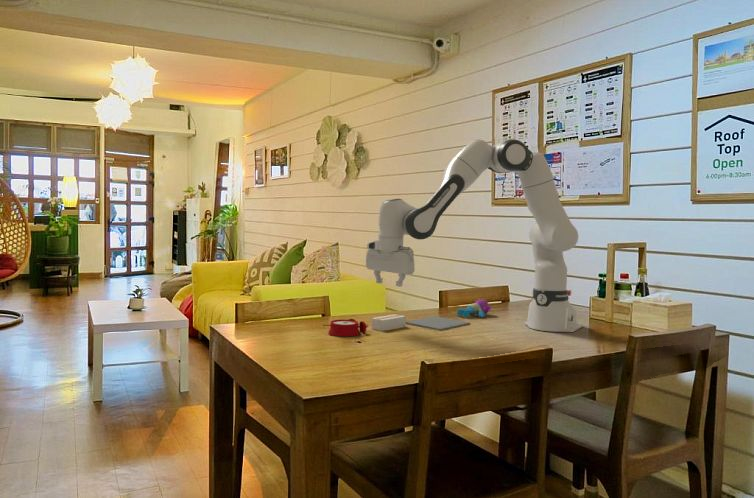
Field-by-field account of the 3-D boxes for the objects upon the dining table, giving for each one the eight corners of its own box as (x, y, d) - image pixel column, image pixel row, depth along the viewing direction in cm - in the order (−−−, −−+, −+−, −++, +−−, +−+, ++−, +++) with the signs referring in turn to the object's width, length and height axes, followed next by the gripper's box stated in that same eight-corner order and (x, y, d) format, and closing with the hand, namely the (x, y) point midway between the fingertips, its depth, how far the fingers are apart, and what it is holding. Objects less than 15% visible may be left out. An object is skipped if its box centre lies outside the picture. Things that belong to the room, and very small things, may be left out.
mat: (435, 317, 230) (435, 316, 230) (469, 324, 219) (470, 322, 219) (405, 323, 217) (405, 322, 217) (440, 330, 206) (440, 328, 206)
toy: (474, 325, 228) (500, 314, 237) (472, 309, 227) (498, 298, 236) (452, 320, 238) (477, 310, 246) (450, 304, 236) (476, 295, 245)
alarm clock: (319, 322, 197) (354, 308, 206) (322, 340, 198) (356, 325, 208) (338, 328, 189) (373, 313, 198) (341, 346, 190) (376, 330, 200)
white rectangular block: (394, 325, 215) (395, 313, 215) (405, 327, 211) (405, 315, 211) (371, 329, 206) (371, 317, 206) (381, 331, 203) (382, 319, 203)
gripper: (419, 247, 202) (417, 287, 203) (375, 243, 216) (374, 281, 217) (407, 247, 197) (405, 289, 198) (363, 243, 212) (362, 282, 212)
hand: (389, 284), depth 208 cm, fingers open, 8 cm apart
